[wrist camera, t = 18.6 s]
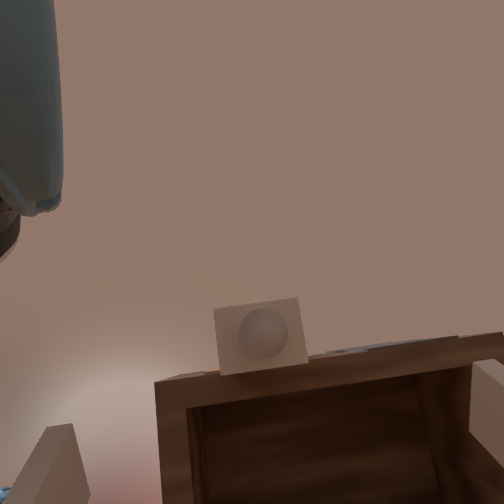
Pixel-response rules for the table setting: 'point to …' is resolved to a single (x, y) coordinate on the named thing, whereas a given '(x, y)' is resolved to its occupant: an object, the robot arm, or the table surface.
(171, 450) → the walnut shelf
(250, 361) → the bar
